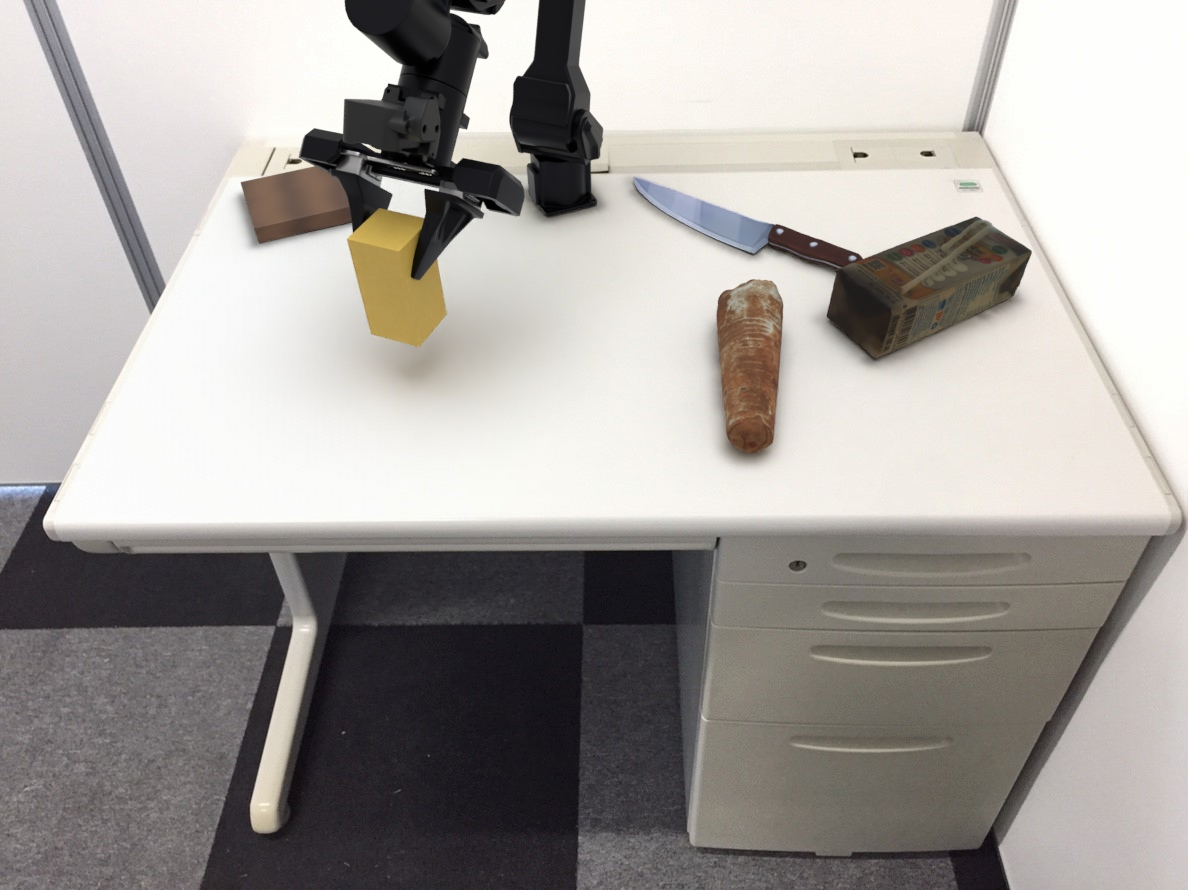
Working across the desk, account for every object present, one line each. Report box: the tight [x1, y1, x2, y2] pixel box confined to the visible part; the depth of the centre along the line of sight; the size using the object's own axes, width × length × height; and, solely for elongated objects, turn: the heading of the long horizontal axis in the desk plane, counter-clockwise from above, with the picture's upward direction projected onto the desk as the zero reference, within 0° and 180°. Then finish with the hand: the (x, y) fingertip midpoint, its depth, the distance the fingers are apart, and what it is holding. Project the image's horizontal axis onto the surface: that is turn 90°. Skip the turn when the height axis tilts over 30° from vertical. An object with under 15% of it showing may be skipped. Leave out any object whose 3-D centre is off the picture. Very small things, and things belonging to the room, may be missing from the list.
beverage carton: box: [826, 216, 1033, 359], centre depth 90 cm, size 8×19×7 cm, turn 120°
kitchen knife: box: [632, 176, 864, 270], centre depth 102 cm, size 5×31×2 cm, turn 51°
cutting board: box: [240, 165, 352, 244], centre depth 107 cm, size 11×11×2 cm
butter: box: [346, 208, 448, 348], centre depth 79 cm, size 5×5×10 cm
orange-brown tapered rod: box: [715, 278, 784, 454], centre depth 83 cm, size 6×19×6 cm, turn 171°
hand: (387, 272), depth 77 cm, fingers closed on butter, 5 cm apart
